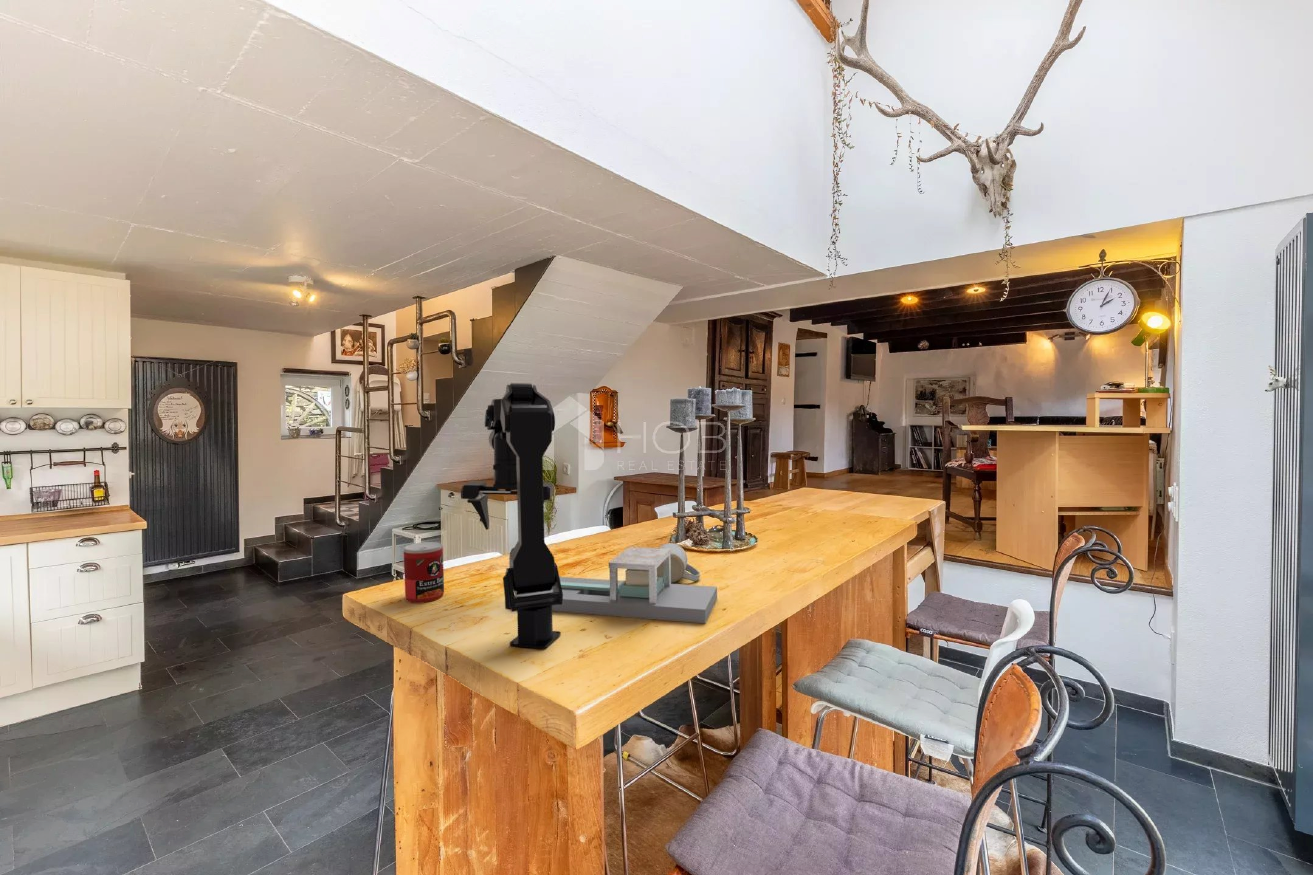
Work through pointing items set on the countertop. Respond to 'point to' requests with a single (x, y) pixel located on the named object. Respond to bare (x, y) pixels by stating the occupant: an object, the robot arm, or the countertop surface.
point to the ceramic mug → (678, 565)
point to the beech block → (637, 577)
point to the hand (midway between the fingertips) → (508, 529)
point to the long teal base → (622, 589)
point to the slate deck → (639, 602)
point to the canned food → (423, 571)
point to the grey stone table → (641, 568)
